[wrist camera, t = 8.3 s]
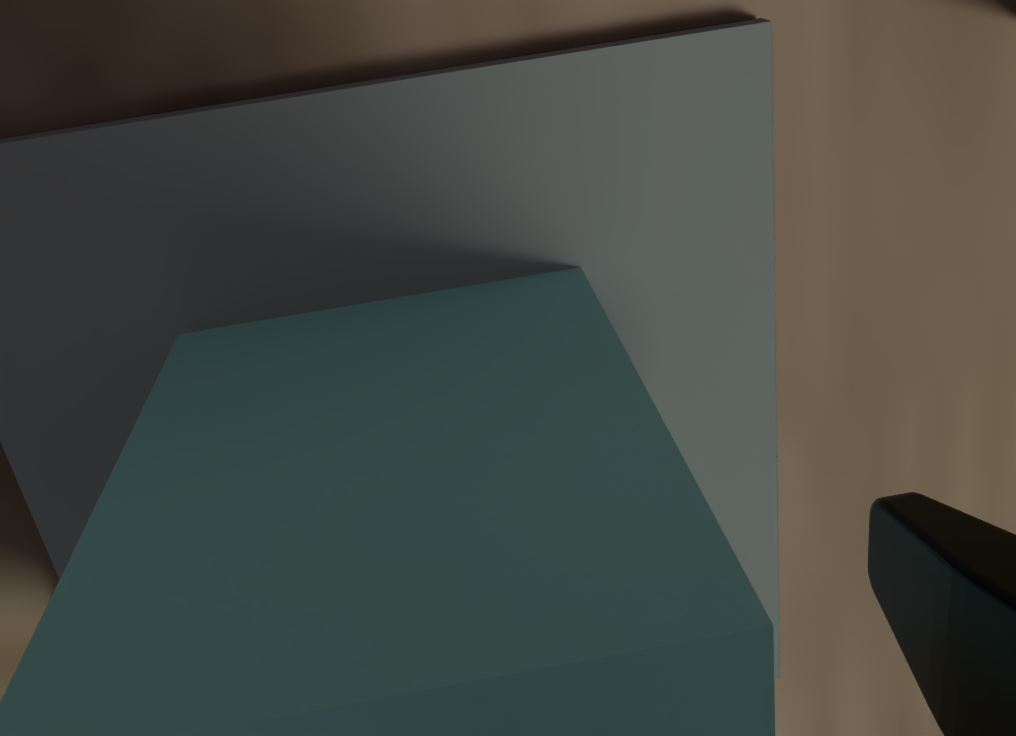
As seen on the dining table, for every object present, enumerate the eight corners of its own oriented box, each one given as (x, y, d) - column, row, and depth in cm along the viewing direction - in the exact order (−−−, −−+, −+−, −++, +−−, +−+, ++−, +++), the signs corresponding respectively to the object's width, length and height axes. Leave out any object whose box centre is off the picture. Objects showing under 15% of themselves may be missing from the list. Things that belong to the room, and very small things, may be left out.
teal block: (614, 584, 13) (780, 1076, 7) (276, 645, 13) (193, 1196, 7) (581, 266, 11) (773, 624, 5) (179, 334, 11) (-35, 776, 5)
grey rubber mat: (772, 662, 14) (780, 677, 14) (156, 778, 14) (152, 796, 13) (761, 17, 10) (771, 21, 10) (-106, 156, 10) (-119, 162, 10)
